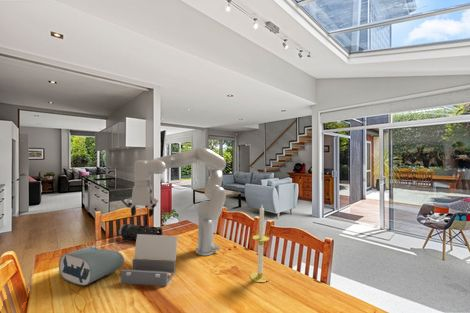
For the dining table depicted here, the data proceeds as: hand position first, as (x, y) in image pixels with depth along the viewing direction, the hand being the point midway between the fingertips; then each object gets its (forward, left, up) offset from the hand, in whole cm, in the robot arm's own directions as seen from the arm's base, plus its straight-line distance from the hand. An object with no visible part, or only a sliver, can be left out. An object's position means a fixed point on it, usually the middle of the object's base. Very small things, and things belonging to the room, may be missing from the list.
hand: (142, 215), depth 121 cm
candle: (-63, +3, -28) cm, 69 cm away
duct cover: (-8, +1, -16) cm, 18 cm away
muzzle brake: (+18, -35, -29) cm, 49 cm away
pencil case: (+21, +9, -28) cm, 36 cm away
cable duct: (-8, +9, -28) cm, 30 cm away
